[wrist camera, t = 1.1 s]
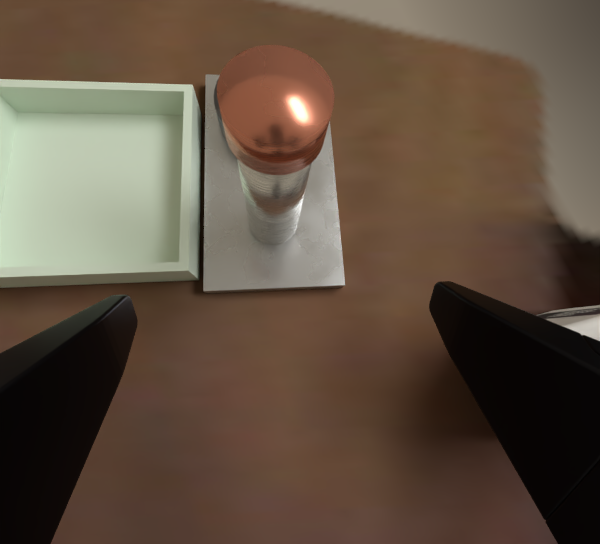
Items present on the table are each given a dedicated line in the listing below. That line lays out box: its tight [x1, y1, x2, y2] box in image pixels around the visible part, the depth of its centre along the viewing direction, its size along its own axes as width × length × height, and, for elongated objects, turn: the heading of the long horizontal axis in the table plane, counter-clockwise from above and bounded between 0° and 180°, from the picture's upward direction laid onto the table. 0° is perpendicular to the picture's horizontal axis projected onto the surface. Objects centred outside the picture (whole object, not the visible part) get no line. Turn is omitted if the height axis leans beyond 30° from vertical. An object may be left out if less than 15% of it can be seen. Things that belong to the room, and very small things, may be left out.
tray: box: [0, 79, 202, 288], centre depth 21 cm, size 14×14×3 cm
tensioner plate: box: [203, 75, 345, 293], centre depth 22 cm, size 18×10×5 cm, turn 3°
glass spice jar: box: [217, 45, 334, 245], centre depth 17 cm, size 4×4×12 cm
